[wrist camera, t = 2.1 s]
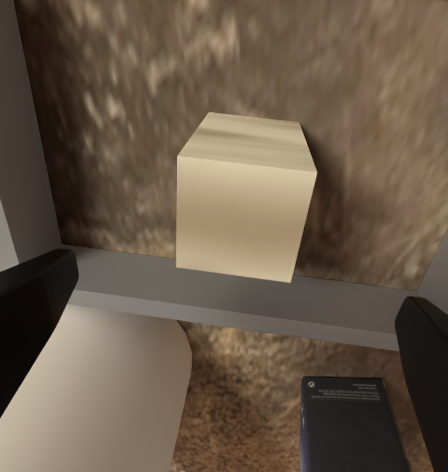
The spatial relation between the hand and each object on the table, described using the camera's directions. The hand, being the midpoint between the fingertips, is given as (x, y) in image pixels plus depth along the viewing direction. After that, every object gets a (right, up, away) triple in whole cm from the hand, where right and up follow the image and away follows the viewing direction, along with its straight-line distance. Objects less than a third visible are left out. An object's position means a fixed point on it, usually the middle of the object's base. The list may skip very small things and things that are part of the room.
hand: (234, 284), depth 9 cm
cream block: (+1, +5, +9) cm, 10 cm away
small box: (+9, -14, +19) cm, 25 cm away
